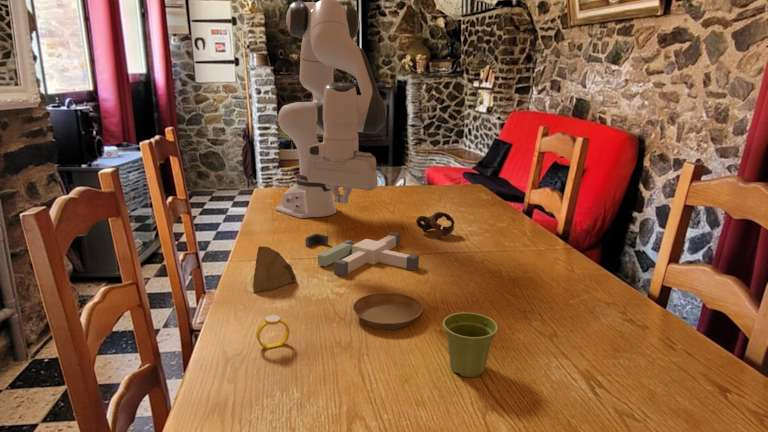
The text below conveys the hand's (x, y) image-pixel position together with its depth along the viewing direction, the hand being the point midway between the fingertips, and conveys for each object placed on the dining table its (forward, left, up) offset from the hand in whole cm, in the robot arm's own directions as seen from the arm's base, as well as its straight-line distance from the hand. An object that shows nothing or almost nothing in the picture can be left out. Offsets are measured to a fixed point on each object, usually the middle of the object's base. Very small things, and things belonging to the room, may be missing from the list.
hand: (341, 202), depth 134 cm
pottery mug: (+10, +37, -17) cm, 42 cm away
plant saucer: (+26, -19, -18) cm, 36 cm away
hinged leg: (-3, +2, -17) cm, 17 cm away
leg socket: (-15, +8, -17) cm, 24 cm away
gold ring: (+14, -41, -17) cm, 47 cm away
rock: (-5, -20, -17) cm, 27 cm away
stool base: (+8, +8, -17) cm, 21 cm away
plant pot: (+48, -28, -17) cm, 58 cm away
